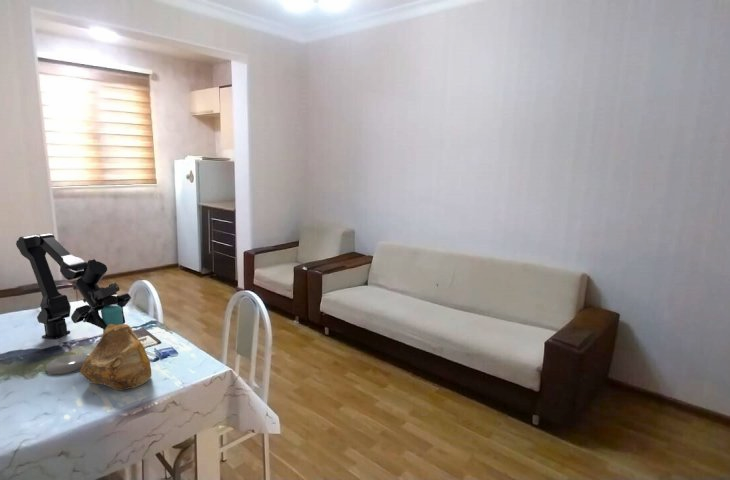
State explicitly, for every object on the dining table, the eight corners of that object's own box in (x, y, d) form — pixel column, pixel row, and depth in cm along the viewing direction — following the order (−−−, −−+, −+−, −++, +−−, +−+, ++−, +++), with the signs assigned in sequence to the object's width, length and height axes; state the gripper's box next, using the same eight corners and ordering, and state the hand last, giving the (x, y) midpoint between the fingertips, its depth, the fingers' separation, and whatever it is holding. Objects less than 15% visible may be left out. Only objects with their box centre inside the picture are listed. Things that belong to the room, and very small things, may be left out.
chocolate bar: (143, 327, 166) (161, 341, 154) (143, 330, 166) (161, 343, 154) (118, 334, 159) (134, 349, 147) (118, 336, 160) (135, 351, 147)
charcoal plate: (36, 373, 131) (36, 369, 131) (68, 355, 143) (68, 352, 142) (70, 376, 129) (69, 373, 129) (100, 358, 141) (99, 355, 141)
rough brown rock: (77, 376, 131) (66, 333, 127) (134, 356, 142) (126, 315, 138) (95, 411, 115) (84, 363, 111) (158, 384, 126) (150, 340, 122)
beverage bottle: (116, 356, 143) (111, 300, 139) (100, 354, 144) (94, 299, 140) (131, 348, 149) (125, 294, 145) (115, 346, 150) (109, 293, 147)
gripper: (72, 284, 135) (99, 322, 132) (125, 271, 152) (149, 304, 149) (59, 304, 139) (85, 341, 137) (112, 289, 156) (136, 321, 154)
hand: (115, 326), depth 144 cm, fingers closed on beverage bottle, 6 cm apart
